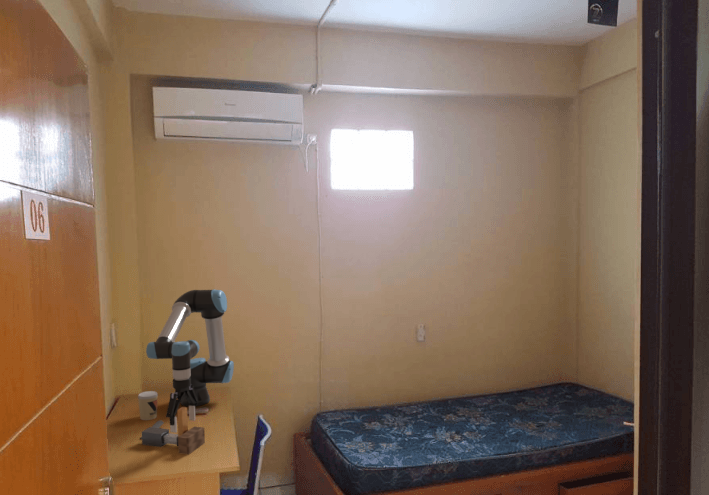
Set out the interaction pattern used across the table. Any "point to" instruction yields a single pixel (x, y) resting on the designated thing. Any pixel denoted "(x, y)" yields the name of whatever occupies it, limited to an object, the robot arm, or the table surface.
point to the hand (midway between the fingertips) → (183, 426)
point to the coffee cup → (148, 405)
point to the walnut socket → (191, 440)
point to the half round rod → (157, 425)
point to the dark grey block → (153, 436)
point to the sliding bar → (182, 428)
